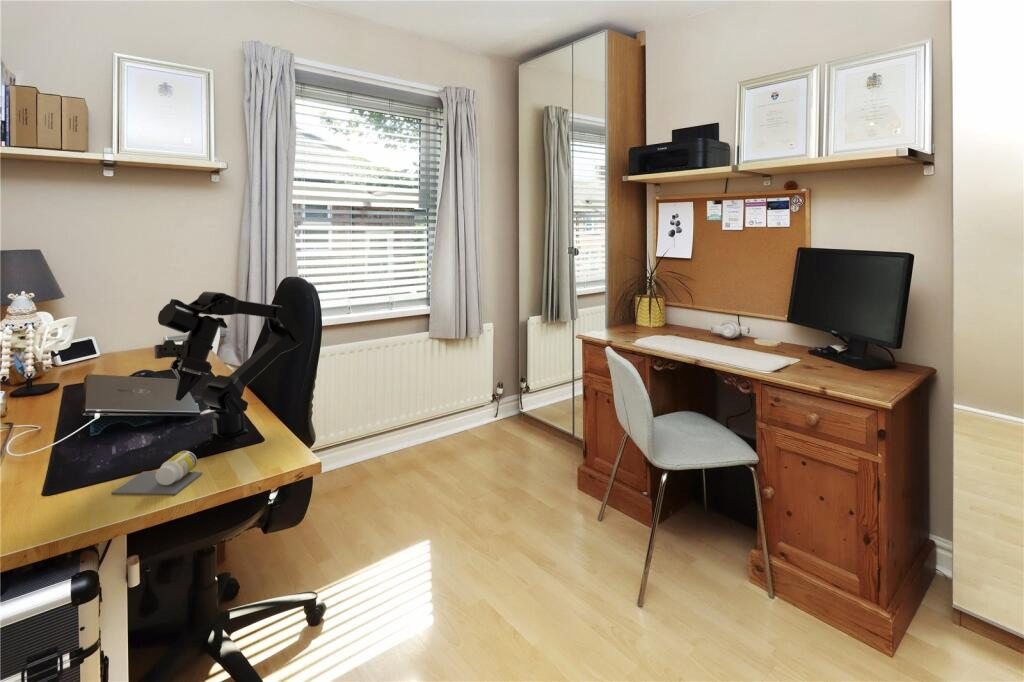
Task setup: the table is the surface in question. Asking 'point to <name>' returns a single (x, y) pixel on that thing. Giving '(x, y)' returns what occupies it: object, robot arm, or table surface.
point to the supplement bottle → (176, 468)
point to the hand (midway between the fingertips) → (177, 400)
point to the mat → (154, 484)
